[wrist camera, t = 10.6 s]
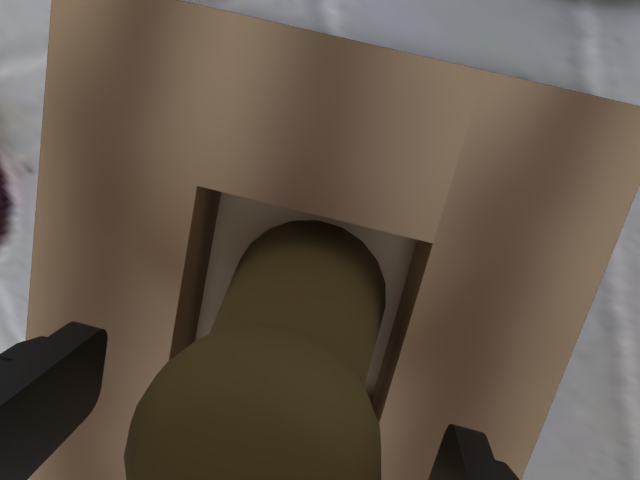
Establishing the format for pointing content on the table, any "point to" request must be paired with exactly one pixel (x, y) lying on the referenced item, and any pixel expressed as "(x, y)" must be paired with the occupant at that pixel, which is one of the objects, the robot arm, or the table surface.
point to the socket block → (320, 211)
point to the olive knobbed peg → (273, 371)
